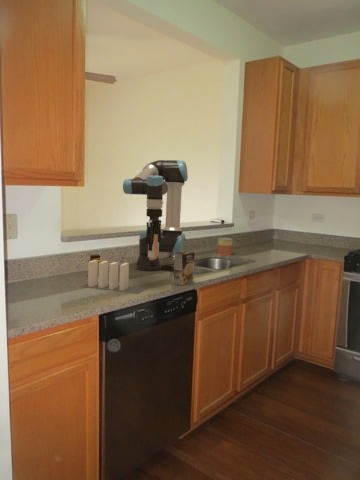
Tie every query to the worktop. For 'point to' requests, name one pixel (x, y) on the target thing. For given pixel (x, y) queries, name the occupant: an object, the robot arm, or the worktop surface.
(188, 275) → the coffee box
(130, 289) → the mat
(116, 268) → the domino
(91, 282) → the domino
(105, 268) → the domino
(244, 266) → the worktop surface
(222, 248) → the canned food
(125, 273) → the domino
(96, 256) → the condiment
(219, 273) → the worktop surface
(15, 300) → the worktop surface
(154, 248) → the domino
